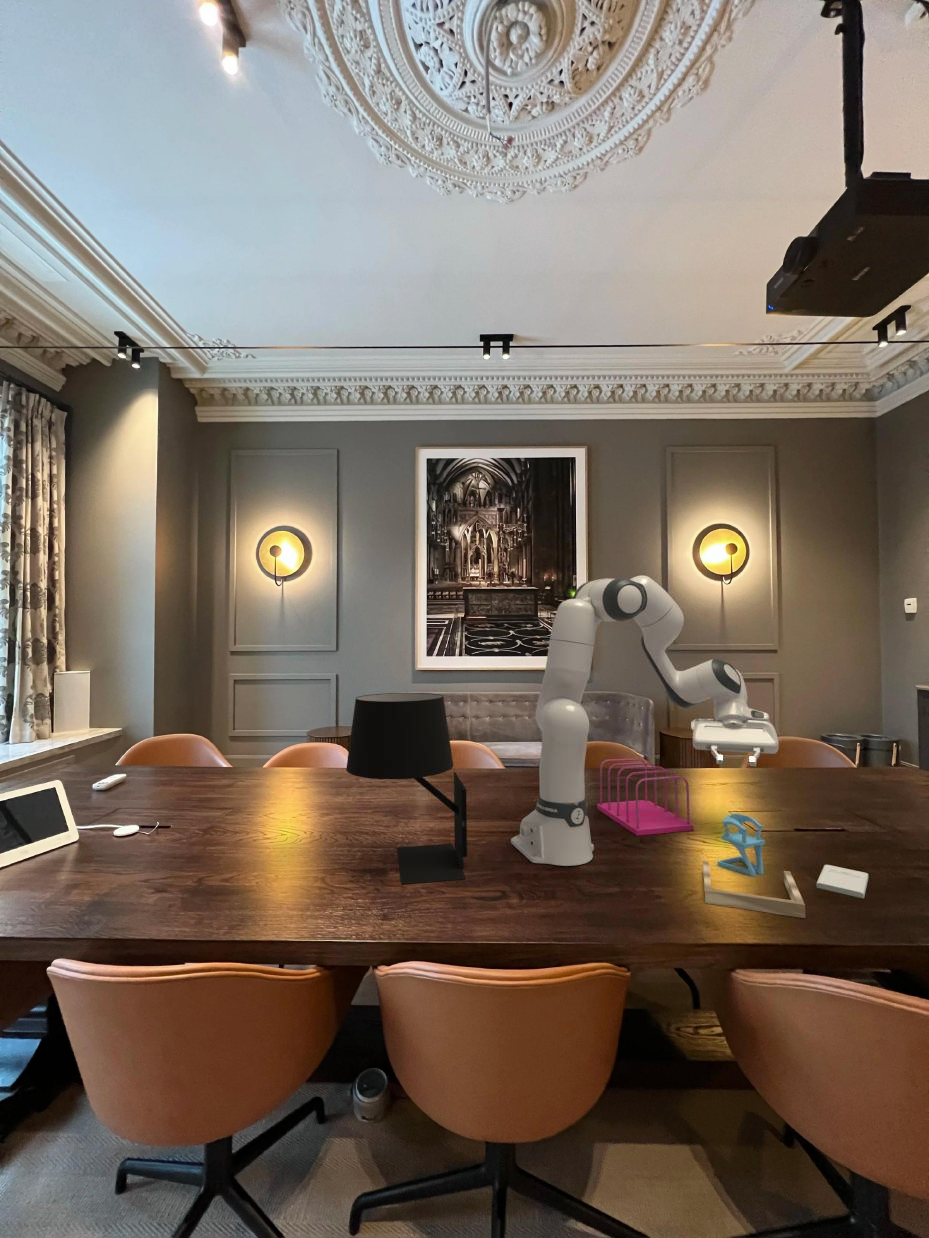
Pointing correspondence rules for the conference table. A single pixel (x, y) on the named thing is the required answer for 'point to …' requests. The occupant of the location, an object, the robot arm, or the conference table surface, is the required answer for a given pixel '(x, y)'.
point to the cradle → (756, 898)
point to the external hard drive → (843, 881)
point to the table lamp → (411, 769)
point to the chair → (743, 844)
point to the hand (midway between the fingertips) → (736, 763)
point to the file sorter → (644, 804)
